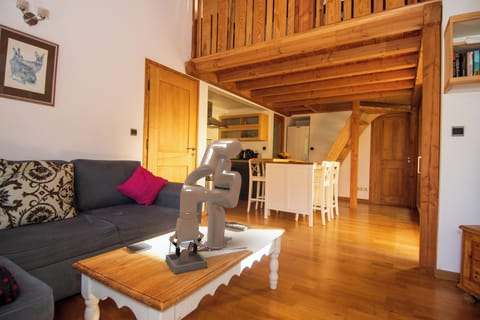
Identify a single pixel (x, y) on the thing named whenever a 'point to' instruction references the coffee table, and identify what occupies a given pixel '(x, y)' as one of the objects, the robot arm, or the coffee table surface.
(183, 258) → the lighter
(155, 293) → the coffee table surface
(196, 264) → the tray
